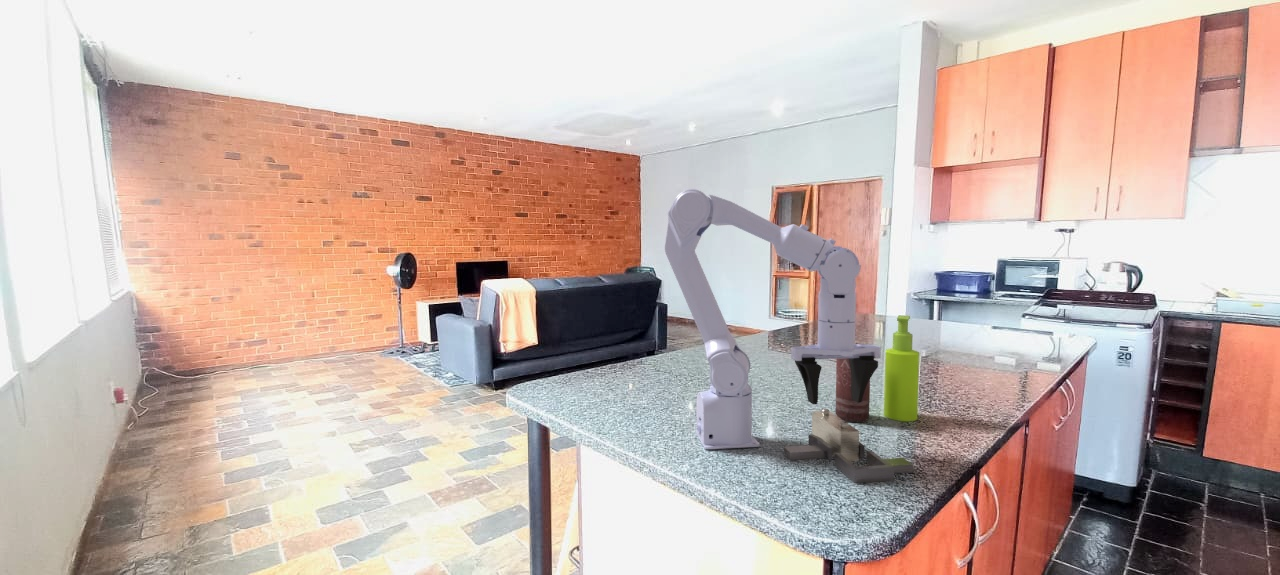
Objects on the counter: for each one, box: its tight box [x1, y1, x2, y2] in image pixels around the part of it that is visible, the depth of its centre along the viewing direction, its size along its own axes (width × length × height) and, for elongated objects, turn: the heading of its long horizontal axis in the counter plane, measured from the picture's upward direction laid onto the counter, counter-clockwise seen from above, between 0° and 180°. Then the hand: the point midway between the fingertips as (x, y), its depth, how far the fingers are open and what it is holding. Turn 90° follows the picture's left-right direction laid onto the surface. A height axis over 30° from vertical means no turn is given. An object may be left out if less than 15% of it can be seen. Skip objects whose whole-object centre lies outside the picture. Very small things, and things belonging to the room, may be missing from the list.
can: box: [835, 358, 871, 424], centre depth 97 cm, size 6×6×14 cm
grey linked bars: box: [783, 433, 914, 484], centre depth 78 cm, size 16×14×2 cm
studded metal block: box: [811, 408, 860, 463], centre depth 83 cm, size 3×10×6 cm, turn 6°
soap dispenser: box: [883, 314, 920, 422], centre depth 98 cm, size 6×7×20 cm
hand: (834, 401), depth 82 cm, fingers open, 7 cm apart
